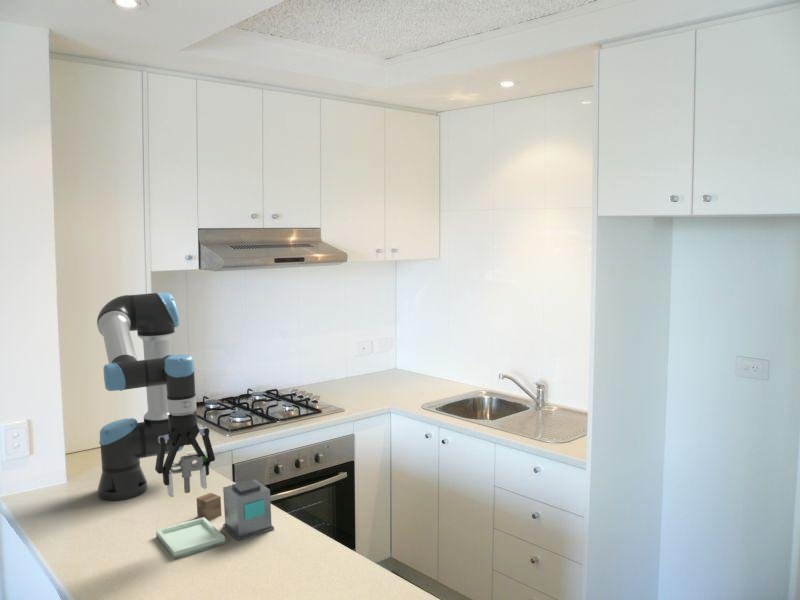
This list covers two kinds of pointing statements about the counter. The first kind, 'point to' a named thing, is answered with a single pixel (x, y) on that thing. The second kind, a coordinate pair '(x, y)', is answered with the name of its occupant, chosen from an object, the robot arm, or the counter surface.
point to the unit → (247, 509)
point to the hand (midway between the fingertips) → (187, 491)
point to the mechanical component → (187, 468)
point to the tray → (190, 537)
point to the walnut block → (209, 506)
